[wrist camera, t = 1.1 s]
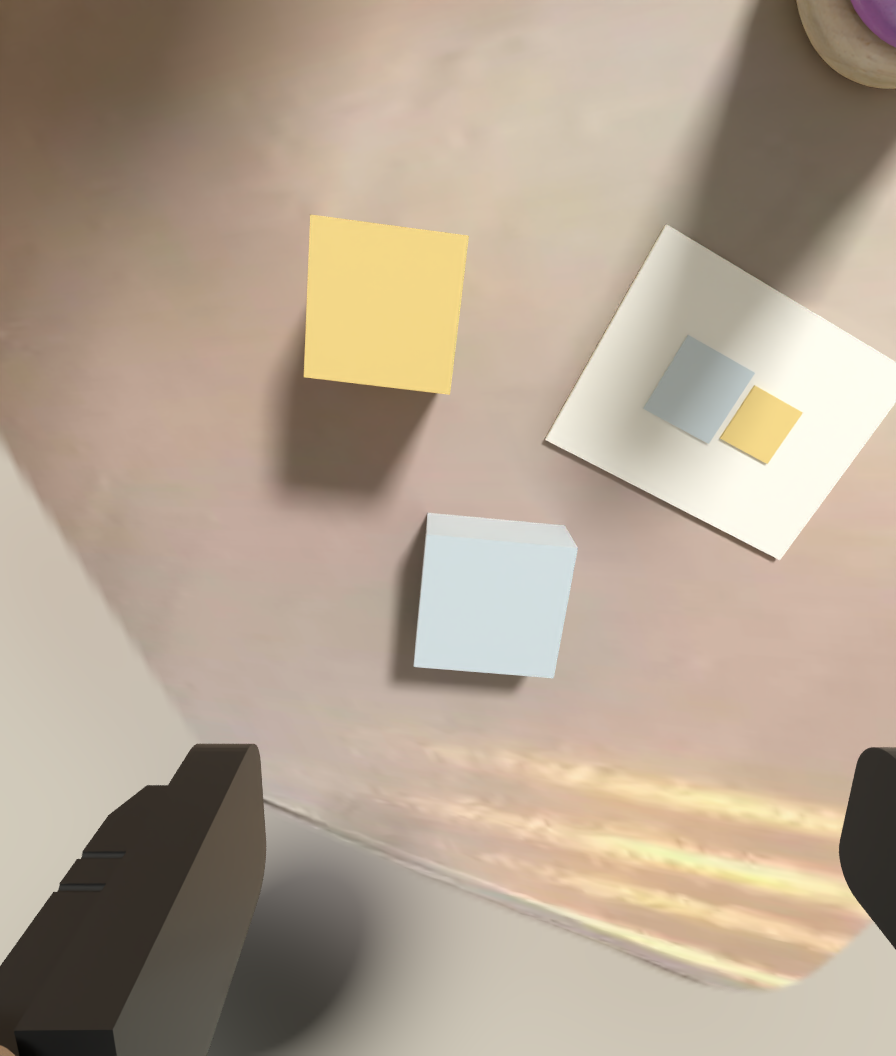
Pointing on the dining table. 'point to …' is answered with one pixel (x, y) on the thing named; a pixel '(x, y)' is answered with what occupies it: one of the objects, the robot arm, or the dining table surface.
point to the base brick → (493, 595)
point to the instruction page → (724, 396)
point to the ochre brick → (383, 304)
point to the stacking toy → (854, 38)
